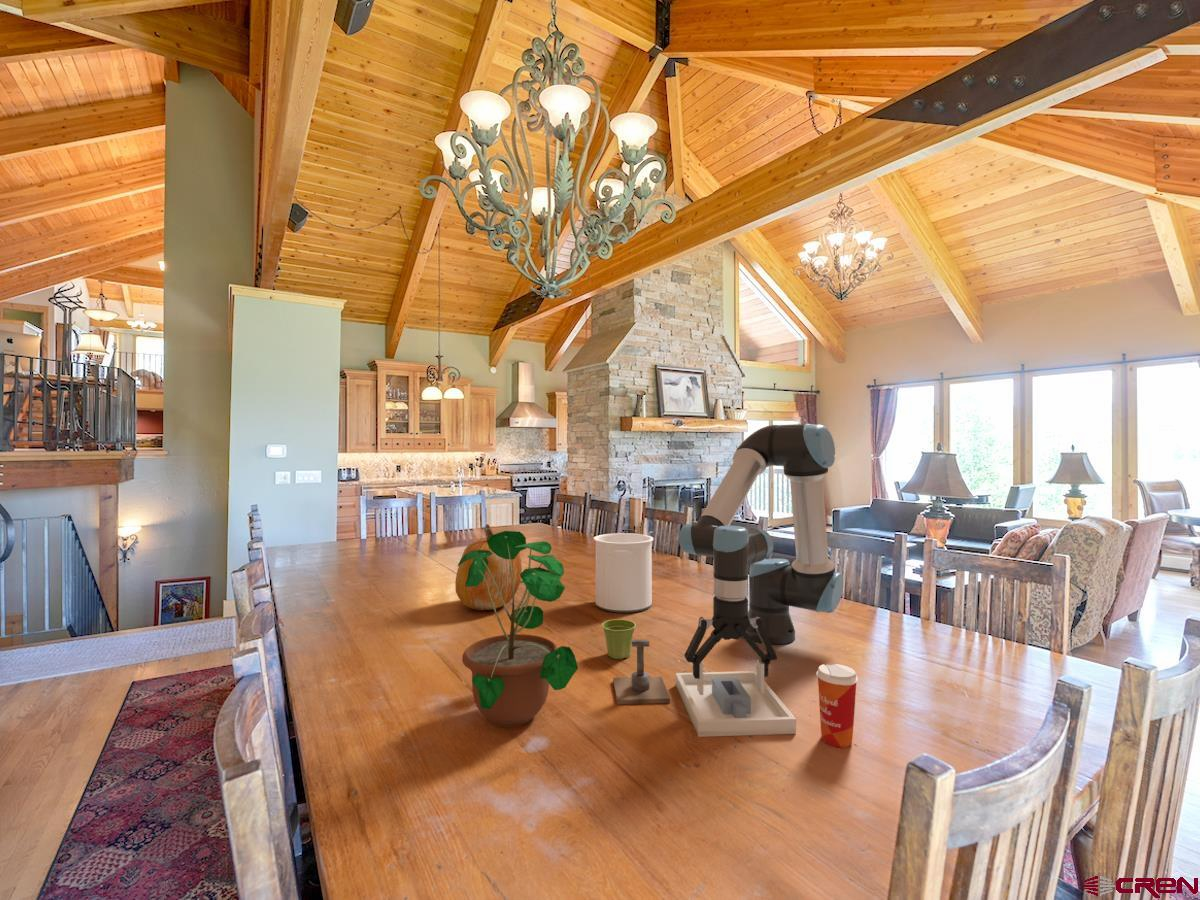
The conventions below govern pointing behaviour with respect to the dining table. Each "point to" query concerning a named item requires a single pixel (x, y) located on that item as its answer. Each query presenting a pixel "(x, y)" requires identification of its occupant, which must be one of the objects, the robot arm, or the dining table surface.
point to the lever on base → (640, 683)
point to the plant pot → (618, 637)
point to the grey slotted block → (731, 697)
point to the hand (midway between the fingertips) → (730, 691)
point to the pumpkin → (488, 578)
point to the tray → (713, 722)
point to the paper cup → (837, 703)
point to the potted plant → (517, 639)
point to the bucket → (623, 572)
